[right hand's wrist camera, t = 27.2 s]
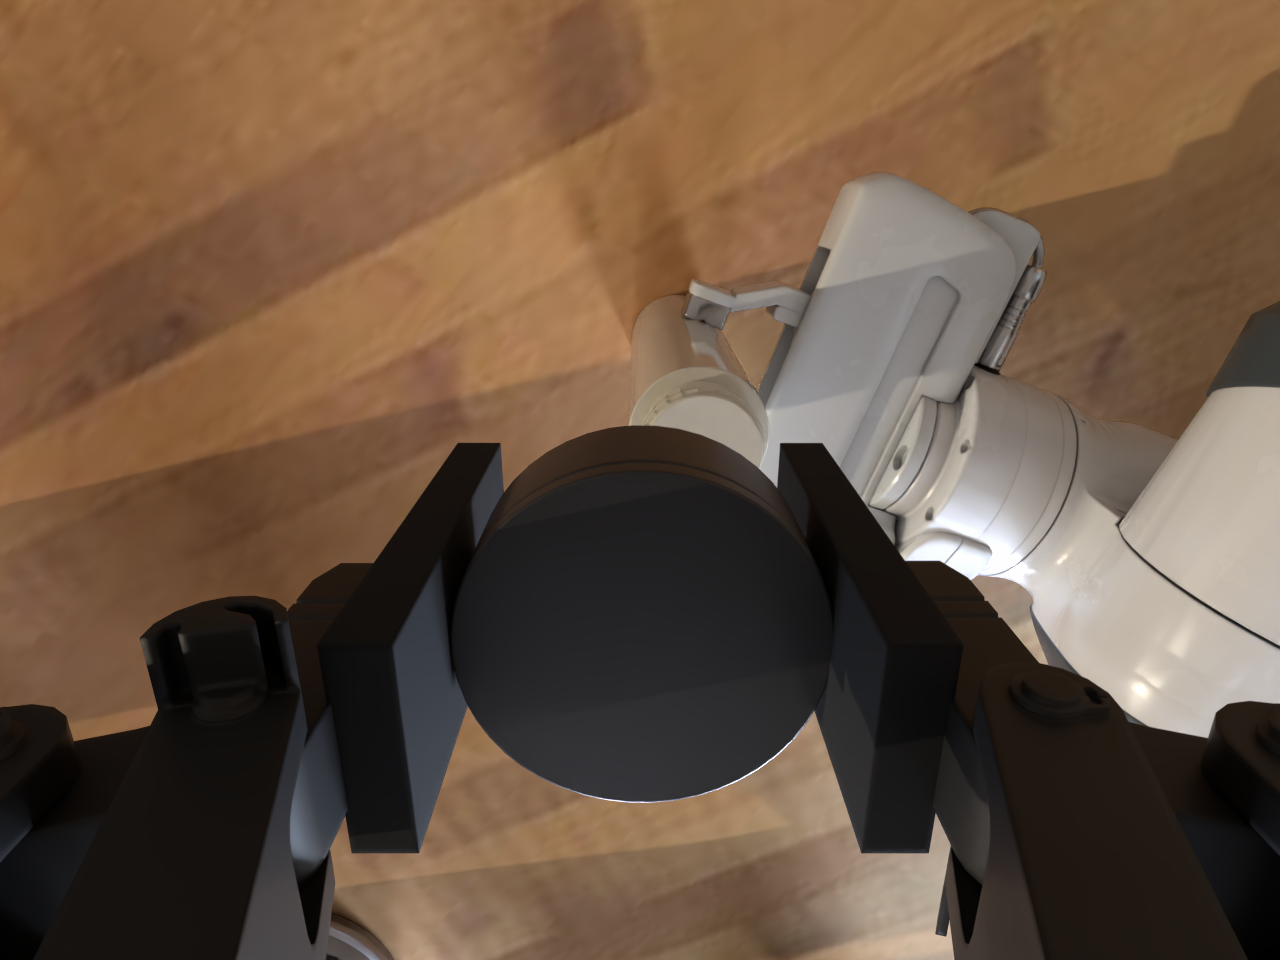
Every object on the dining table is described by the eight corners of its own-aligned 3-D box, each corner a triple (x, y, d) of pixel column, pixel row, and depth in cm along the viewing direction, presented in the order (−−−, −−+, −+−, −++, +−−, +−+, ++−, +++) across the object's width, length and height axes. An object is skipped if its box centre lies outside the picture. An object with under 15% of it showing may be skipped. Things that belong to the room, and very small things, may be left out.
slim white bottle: (633, 293, 40) (629, 376, 22) (722, 296, 40) (786, 382, 22) (630, 380, 41) (624, 521, 24) (715, 383, 41) (771, 525, 24)
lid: (546, 748, 13) (531, 840, 11) (426, 483, 11) (385, 540, 10) (838, 669, 13) (872, 752, 11) (757, 378, 11) (781, 417, 9)
